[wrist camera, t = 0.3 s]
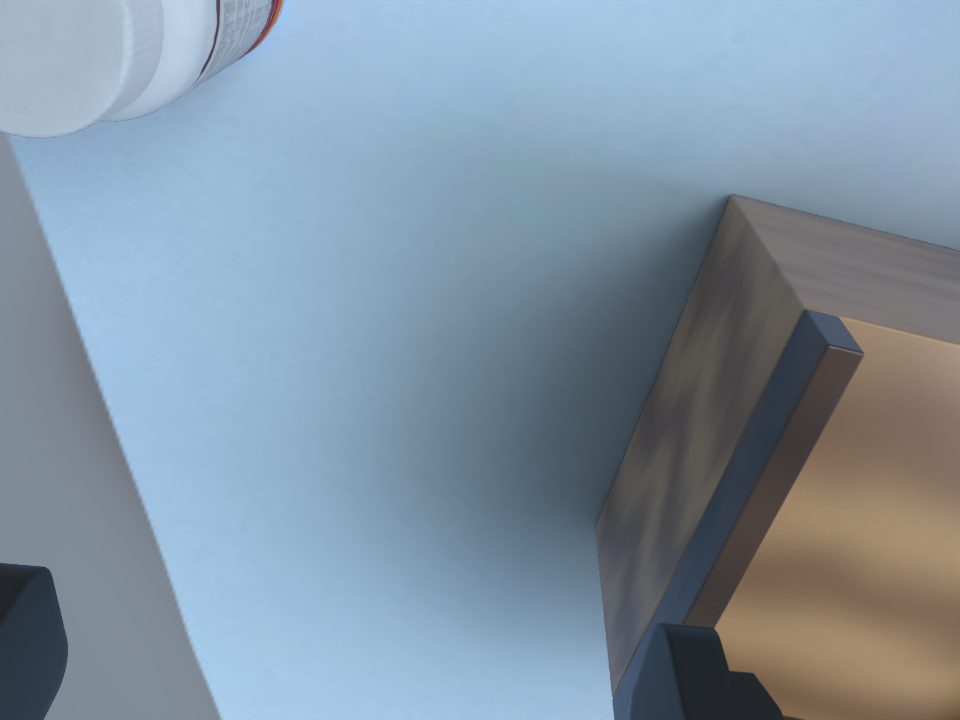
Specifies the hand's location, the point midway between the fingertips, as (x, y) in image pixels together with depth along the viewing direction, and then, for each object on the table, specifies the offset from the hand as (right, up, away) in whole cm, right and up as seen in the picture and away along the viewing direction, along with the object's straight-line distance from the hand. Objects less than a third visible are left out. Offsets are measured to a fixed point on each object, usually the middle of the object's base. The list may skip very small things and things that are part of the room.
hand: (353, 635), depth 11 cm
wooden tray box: (+15, +1, +22) cm, 27 cm away
